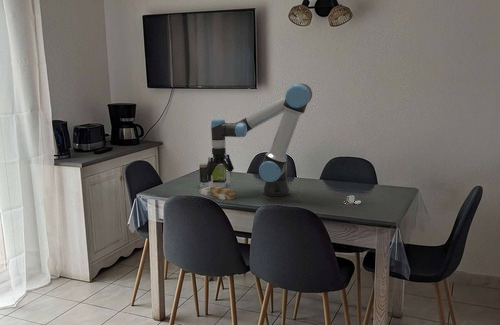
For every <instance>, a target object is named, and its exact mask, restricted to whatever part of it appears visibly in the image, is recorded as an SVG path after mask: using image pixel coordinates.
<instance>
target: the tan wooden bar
mask: <svg viewBox="0 0 500 325" xmlns="http://www.w3.org/2000/svg"><path fill="white" fill-rule="evenodd" d="M219 194H224V195H225V200H235V199H237V198H236V195H237V194H236V189H232V188H228V187H225V188H224V187H220V186H213V187H210V192H209V195H210V196H213V197H217V198H219Z"/></svg>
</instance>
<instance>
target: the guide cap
mask: <svg viewBox="0 0 500 325" xmlns="http://www.w3.org/2000/svg"><path fill="white" fill-rule="evenodd" d="M218 199H219V200H223V201H224V200H226V199H225V195H224V194H219V197H218Z"/></svg>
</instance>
